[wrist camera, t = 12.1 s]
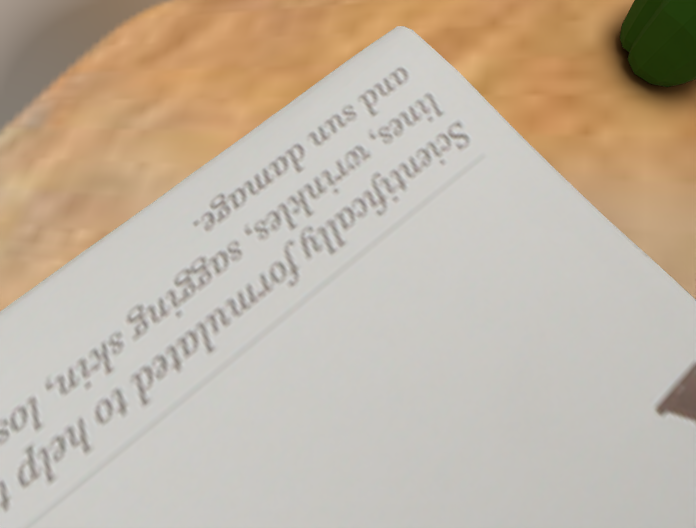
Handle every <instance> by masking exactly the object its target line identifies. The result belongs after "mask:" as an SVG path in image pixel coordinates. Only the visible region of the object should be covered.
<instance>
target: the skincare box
mask: <svg viewBox="0 0 696 528" xmlns="http://www.w3.org/2000/svg"><path fill="white" fill-rule="evenodd" d="M0 528H696V300H695V299H694V298H693V297H692V296H691V295H690V294H689V293H688V292H687V291H686V290H685V289H684V288H682V287H681V286H680V285H679V284H678V283H677V282H676V281H675V280H674V279H673V278H672V277H671V276H670V275H668V274H667V273H666V272H665V271H664V270H663V269H662V268H661V267H660V266H659V265H658V264H657V263H655V262H654V261H653V260H652V259H651V258H650V257H649V256H648V255H647V254H645V253H644V252H643V251H642V250H641V249H640V248H639V247H638V246H637V245H635V244H634V243H633V242H632V241H631V240H630V239H629V238H628V237H627V236H625V235H624V234H623V233H622V232H621V231H620V230H619V229H618V228H617V227H615V226H614V225H613V224H612V223H611V222H610V221H609V220H608V219H607V218H605V217H604V216H603V215H602V214H601V213H600V212H599V211H598V210H597V209H596V208H595V207H594V206H593V205H592V204H591V203H590V202H589V201H588V200H587V199H586V198H585V197H584V196H582V195H581V194H580V193H579V192H578V191H577V190H576V189H575V188H574V187H573V186H572V185H571V184H570V183H569V182H568V181H567V180H566V179H565V178H564V177H563V176H562V175H561V174H560V173H559V172H557V171H556V170H555V169H554V168H553V167H552V166H551V165H550V164H549V163H548V162H547V161H546V160H545V159H544V158H543V157H542V156H541V155H540V154H539V153H538V152H537V151H536V150H535V149H534V148H533V147H532V146H531V145H530V144H529V143H528V142H527V141H526V140H525V139H524V138H523V137H522V136H521V135H520V134H519V133H518V132H517V131H516V130H515V129H514V128H513V127H512V126H511V125H510V124H509V123H508V122H507V121H506V120H505V119H504V118H503V117H502V116H501V115H500V114H499V113H498V112H497V111H496V110H495V109H494V108H493V107H492V106H491V105H490V104H489V103H488V102H487V101H486V99H485V98H484V97H483V96H482V95H481V94H480V93H479V92H478V91H477V90H476V89H475V88H474V87H473V86H472V85H471V84H470V83H469V82H468V81H467V80H466V79H465V78H464V77H463V76H462V75H461V74H460V73H459V72H458V71H457V70H456V69H455V68H454V67H453V66H452V65H451V64H449V63H448V62H447V61H446V60H445V59H444V58H443V57H442V56H441V55H440V54H438V53H437V52H436V51H435V50H434V49H433V48H432V47H431V46H430V45H428V44H427V43H426V42H425V41H424V40H423V39H422V38H421V37H420V36H418V35H417V34H416V33H415V32H414V31H413V30H411V29H409V28H407V27H404V26H401V27H396V28H394V29H393V30H391V31H390V32H388V33H387V34H385V35H384V36H383V37H381V38H380V39H378V40H377V41H375V42H374V43H372V44H371V45H369V46H368V47H366V48H365V49H364V50H362V51H361V52H359V53H358V54H356V55H355V56H354V57H352V58H351V59H349V60H348V61H346V62H345V63H344V64H342V65H341V66H340V67H338V68H337V69H336V70H334V71H333V72H331V73H330V74H329V75H327V76H326V77H325V78H323V79H322V80H321V81H319V82H318V83H316V84H315V85H314V86H312V87H311V88H310V89H308V90H307V91H306V92H304V93H303V94H301V95H300V96H299V97H297V98H296V99H295V100H293V101H292V102H290V103H289V104H288V105H286V106H285V107H284V108H282V109H281V110H280V111H278V112H277V113H275V114H274V115H273V116H271V117H270V118H269V119H267V120H266V121H265V122H263V123H262V124H260V125H259V126H258V127H256V128H255V129H254V130H252V131H251V132H249V133H248V134H247V135H245V136H244V137H243V138H241V139H240V140H239V141H237V142H236V143H234V144H233V145H232V146H230V147H229V148H227V149H226V150H225V151H223V152H222V153H220V154H219V155H218V156H216V157H215V158H213V159H212V160H210V161H209V162H208V163H206V164H205V165H203V166H202V167H201V168H199V169H198V170H196V171H195V172H194V173H192V174H191V175H189V176H188V177H187V178H185V179H184V180H183V181H181V182H180V183H179V184H177V185H176V186H175V187H173V188H172V189H171V190H169V191H168V192H167V193H165V194H164V195H163V196H161V197H160V198H158V199H157V200H156V201H154V202H153V203H152V204H150V205H149V206H147V207H146V208H144V209H143V210H142V211H140V212H139V213H137V214H136V215H135V216H133V217H132V218H130V219H129V220H127V221H126V222H125V223H123V224H122V225H120V226H119V227H118V228H116V229H115V230H113V231H112V232H110V233H109V234H108V235H106V236H105V237H103V238H102V239H101V240H99V241H98V242H96V243H95V244H94V245H92V246H91V247H89V248H88V249H86V250H85V251H84V252H82V253H81V254H80V255H78V256H77V257H75V258H74V259H73V260H71V261H70V262H68V263H67V264H66V265H64V266H63V267H61V268H60V269H59V270H57V271H56V272H55V273H53V274H52V275H50V276H49V277H48V278H46V279H45V280H43V281H42V282H41V283H39V284H38V285H37V286H35V287H34V288H32V289H31V290H30V291H28V292H27V293H25V294H24V295H23V296H21V297H20V298H18V299H17V300H16V301H14V302H13V303H12V304H10V305H9V306H7V307H6V308H5V309H3V310H2V311H0Z"/></svg>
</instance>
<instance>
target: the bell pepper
mask: <svg viewBox="0 0 696 528" xmlns="http://www.w3.org/2000/svg"><path fill="white" fill-rule="evenodd" d="M620 40H621V44H622V47H623V48H624V49H625V50H627V51H628V52H630V53H629V56H628V62H629V64H630V66H631V68H632V70H633V72H634V74H635V75H637V76H639V77H640V78H642V79H644V80H645V81H647V82H648V83H650V84H654V85H659V86H664V87H671V86H675V85H680V84H683V83H686V82H689V81H692V80H695V79H696V0H635V1H634V3H633V5H632V7H631V8H630V10H629V12H628V14H627V16H626V18H625V20H624V22H623V24H622V28H621V33H620Z"/></svg>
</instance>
